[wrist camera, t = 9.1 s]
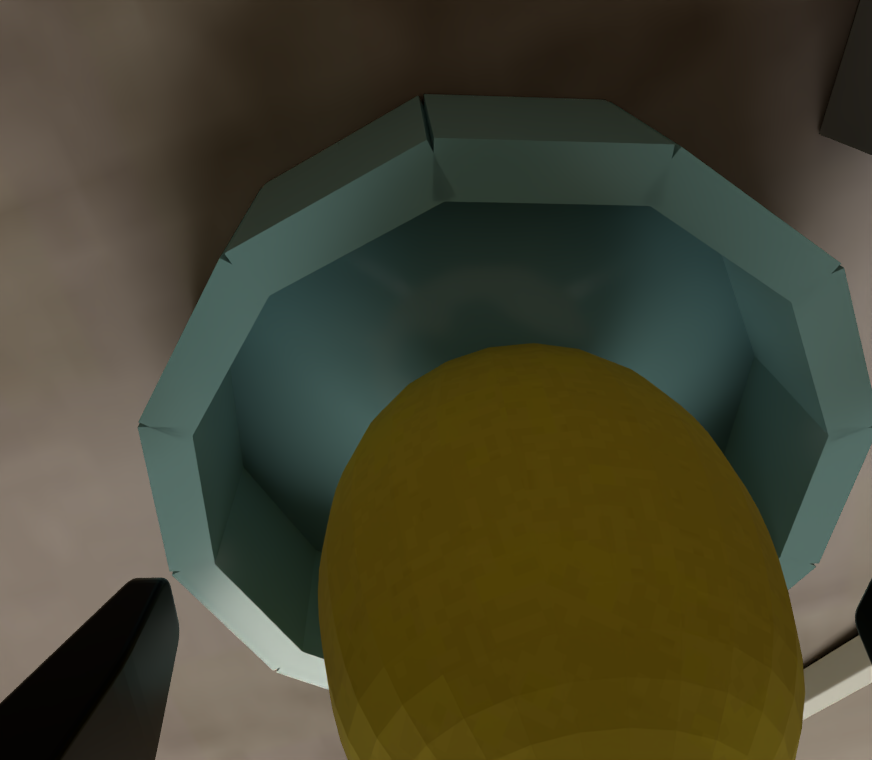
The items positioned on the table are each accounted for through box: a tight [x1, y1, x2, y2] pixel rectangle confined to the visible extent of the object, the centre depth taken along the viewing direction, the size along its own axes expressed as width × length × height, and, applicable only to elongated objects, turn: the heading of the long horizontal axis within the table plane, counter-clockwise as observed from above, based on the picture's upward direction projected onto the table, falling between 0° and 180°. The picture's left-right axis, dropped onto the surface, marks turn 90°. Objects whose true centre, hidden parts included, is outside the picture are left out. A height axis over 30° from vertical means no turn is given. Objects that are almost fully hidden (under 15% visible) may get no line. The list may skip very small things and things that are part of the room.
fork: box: [803, 635, 872, 720], centre depth 18 cm, size 3×20×2 cm, turn 143°
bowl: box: [138, 94, 872, 690], centre depth 12 cm, size 10×10×3 cm
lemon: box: [318, 343, 805, 760], centre depth 9 cm, size 6×6×8 cm
